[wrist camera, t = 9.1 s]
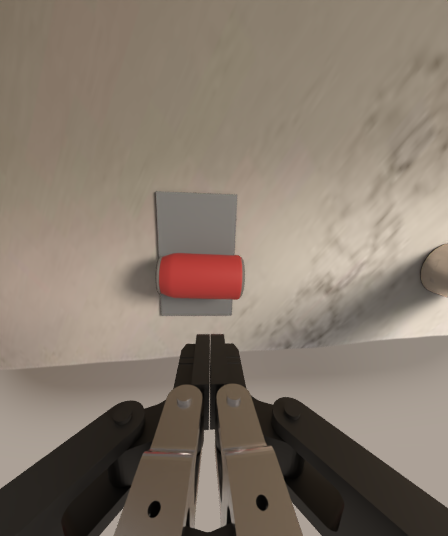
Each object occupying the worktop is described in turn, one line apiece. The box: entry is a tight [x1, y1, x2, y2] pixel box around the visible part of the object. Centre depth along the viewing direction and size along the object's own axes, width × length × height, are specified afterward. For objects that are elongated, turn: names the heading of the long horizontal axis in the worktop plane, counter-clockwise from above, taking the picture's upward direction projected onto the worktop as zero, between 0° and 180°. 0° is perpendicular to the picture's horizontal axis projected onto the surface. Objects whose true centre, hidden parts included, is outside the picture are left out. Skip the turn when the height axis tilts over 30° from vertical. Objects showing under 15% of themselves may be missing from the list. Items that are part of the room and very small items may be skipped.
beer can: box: [156, 253, 245, 300], centre depth 31 cm, size 7×7×12 cm
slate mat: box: [156, 191, 237, 316], centre depth 34 cm, size 12×20×1 cm, turn 178°
